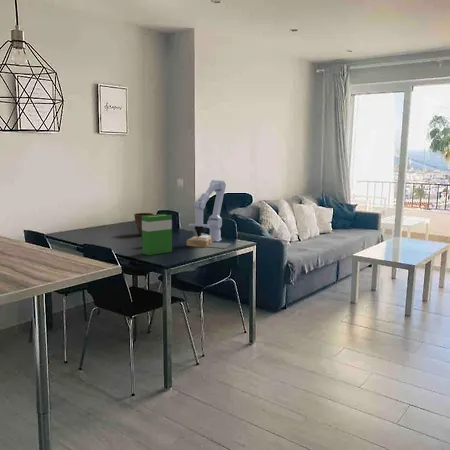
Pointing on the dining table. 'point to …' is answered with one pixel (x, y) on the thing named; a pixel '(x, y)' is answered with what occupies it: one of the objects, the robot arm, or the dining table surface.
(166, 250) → the green cereal box
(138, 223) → the plant pot
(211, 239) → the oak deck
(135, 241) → the dining table surface
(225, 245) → the charcoal mat
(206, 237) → the cream tile
